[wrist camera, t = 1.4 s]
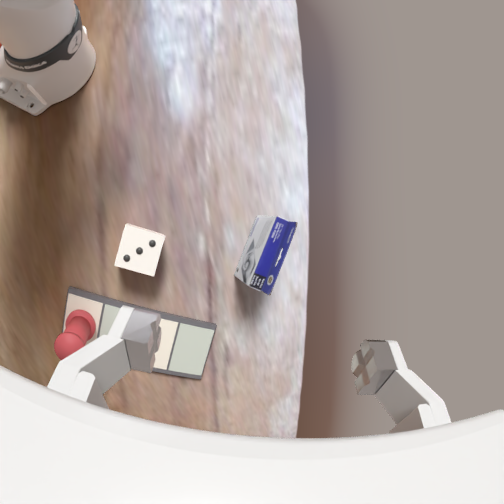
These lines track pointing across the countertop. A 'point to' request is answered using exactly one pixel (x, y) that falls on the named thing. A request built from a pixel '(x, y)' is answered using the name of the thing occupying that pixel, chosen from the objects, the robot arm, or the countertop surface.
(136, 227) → the die
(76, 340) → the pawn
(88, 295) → the game board
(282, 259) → the ink box
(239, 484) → the robot arm
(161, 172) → the countertop surface
